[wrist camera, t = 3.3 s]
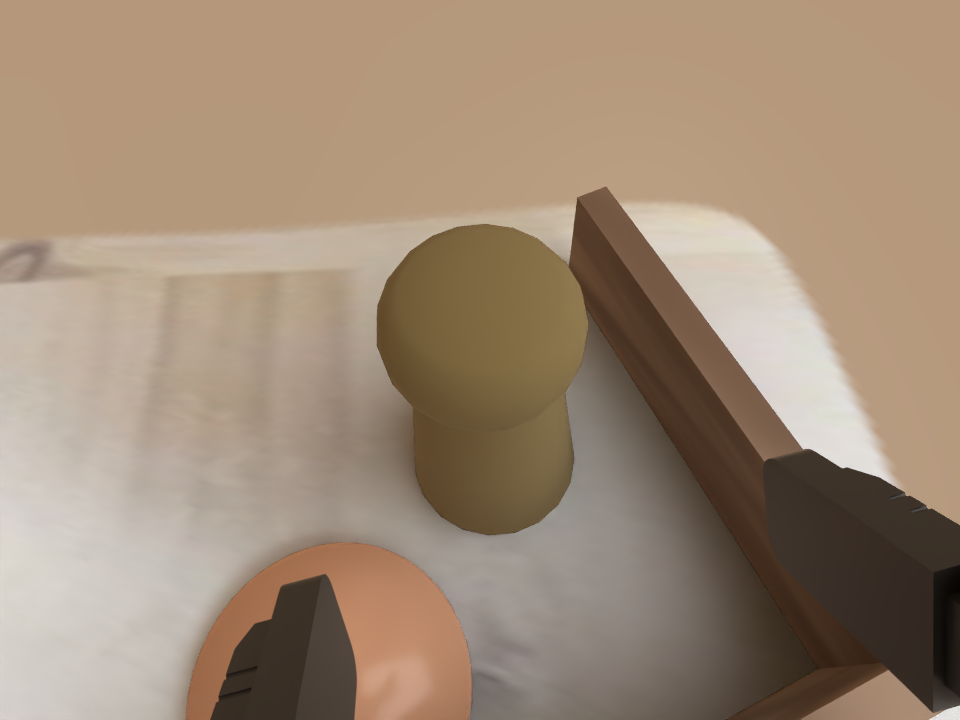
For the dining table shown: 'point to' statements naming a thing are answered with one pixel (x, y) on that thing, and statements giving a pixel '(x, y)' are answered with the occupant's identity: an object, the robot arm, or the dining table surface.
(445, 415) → the cork
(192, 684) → the terracotta coaster
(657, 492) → the dining table surface
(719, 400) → the walnut corner walls
